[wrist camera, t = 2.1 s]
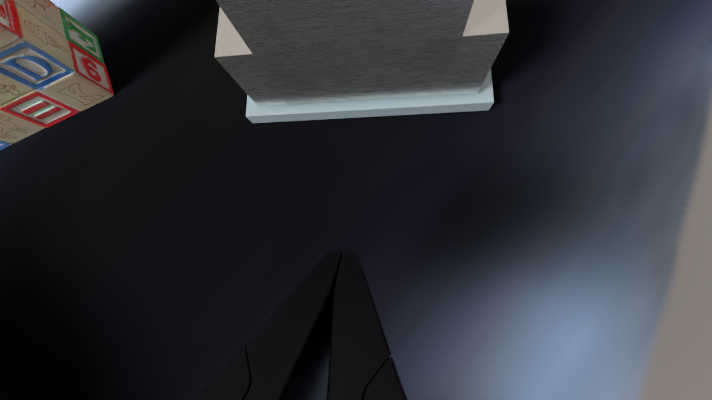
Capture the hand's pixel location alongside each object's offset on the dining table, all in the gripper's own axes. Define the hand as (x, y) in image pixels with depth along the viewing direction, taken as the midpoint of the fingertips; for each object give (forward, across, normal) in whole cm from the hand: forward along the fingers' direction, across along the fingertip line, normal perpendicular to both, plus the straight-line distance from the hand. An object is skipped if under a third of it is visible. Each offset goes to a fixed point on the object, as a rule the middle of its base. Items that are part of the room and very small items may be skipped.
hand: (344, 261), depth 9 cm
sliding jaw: (+15, 0, -2) cm, 15 cm away
